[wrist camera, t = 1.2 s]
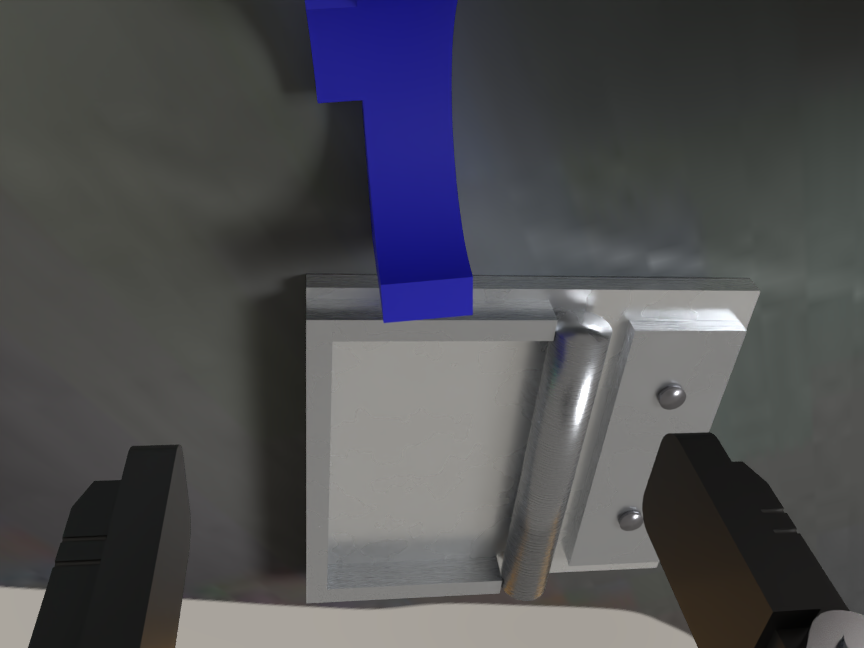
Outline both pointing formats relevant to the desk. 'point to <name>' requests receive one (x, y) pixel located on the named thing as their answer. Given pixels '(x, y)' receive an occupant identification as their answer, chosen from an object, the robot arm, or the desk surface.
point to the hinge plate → (501, 427)
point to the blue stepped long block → (401, 143)
